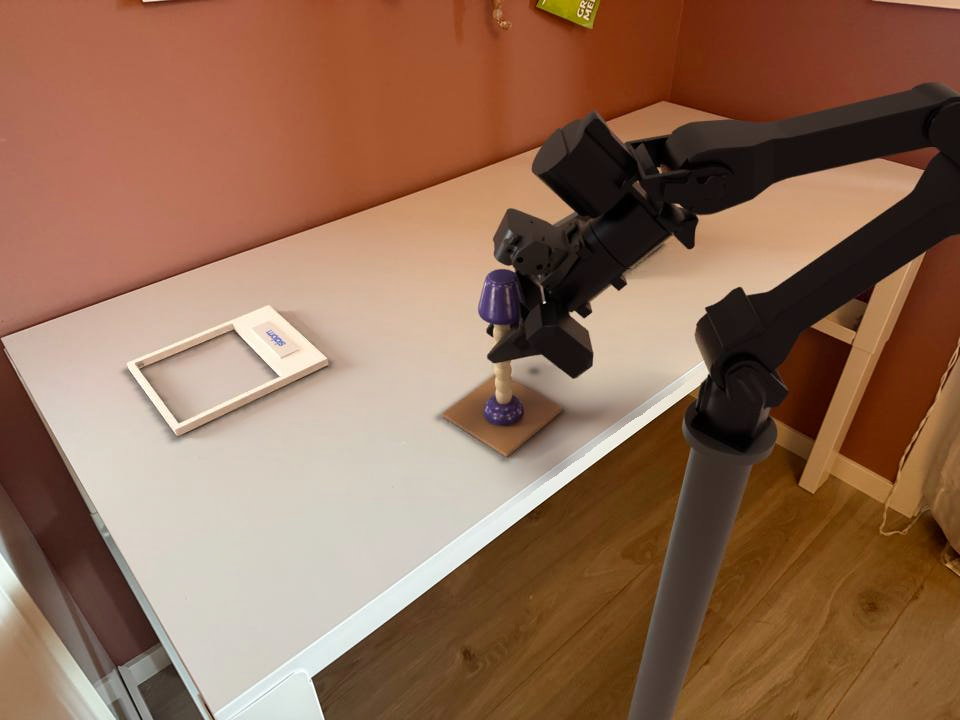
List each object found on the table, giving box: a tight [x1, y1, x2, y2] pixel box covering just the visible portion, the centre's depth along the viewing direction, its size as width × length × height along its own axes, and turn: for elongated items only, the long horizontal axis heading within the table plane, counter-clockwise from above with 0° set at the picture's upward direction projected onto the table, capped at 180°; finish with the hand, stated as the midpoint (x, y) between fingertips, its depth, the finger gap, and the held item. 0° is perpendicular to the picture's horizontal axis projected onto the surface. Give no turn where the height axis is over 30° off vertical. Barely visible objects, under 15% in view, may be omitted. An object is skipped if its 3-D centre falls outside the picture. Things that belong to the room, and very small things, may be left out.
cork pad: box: [442, 374, 563, 458], centre depth 76 cm, size 9×9×1 cm
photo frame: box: [126, 304, 329, 437], centre depth 83 cm, size 15×1×18 cm
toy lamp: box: [477, 268, 527, 426], centre depth 71 cm, size 5×5×17 cm
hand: (489, 346), depth 71 cm, fingers closed on toy lamp, 4 cm apart
